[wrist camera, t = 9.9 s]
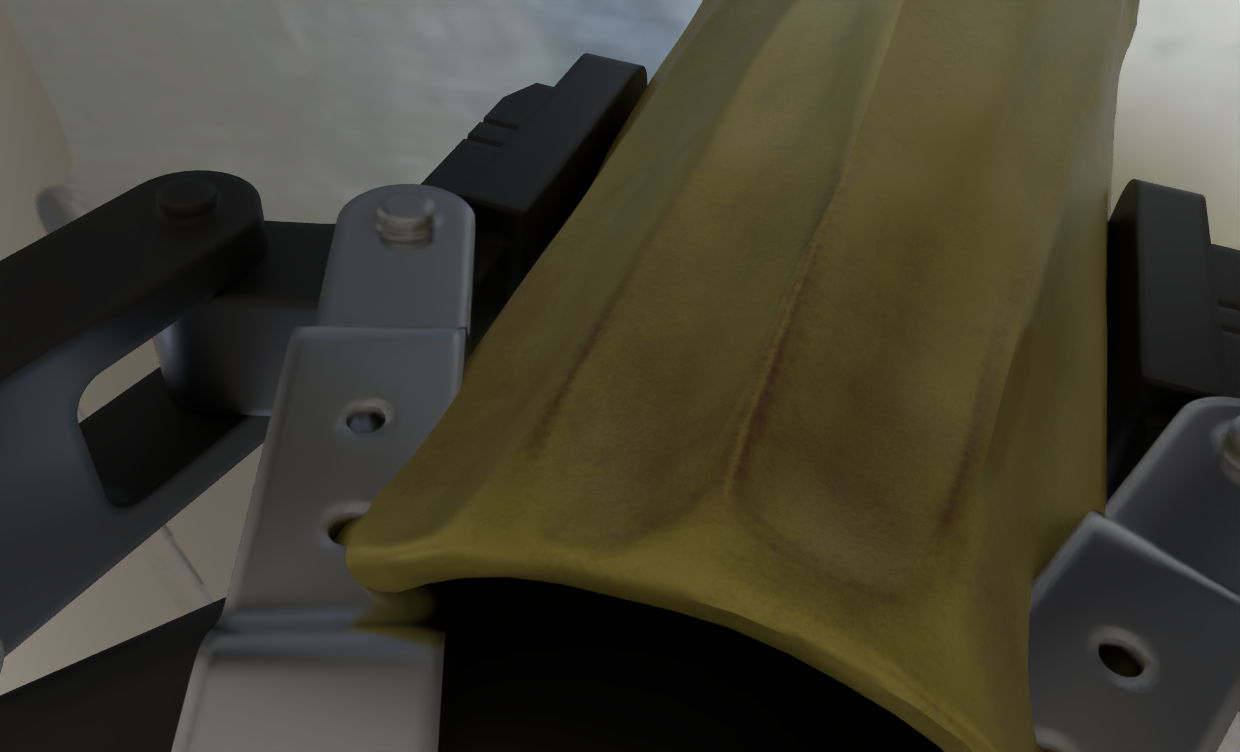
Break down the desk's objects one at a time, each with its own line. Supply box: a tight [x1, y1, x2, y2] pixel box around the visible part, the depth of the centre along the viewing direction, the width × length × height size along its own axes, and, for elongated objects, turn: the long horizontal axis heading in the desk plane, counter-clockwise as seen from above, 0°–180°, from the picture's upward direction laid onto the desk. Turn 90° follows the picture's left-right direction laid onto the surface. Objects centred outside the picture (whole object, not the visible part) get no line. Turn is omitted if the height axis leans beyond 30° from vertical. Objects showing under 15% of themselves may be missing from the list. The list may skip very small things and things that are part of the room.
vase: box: [334, 0, 1140, 752], centre depth 12 cm, size 6×6×14 cm
